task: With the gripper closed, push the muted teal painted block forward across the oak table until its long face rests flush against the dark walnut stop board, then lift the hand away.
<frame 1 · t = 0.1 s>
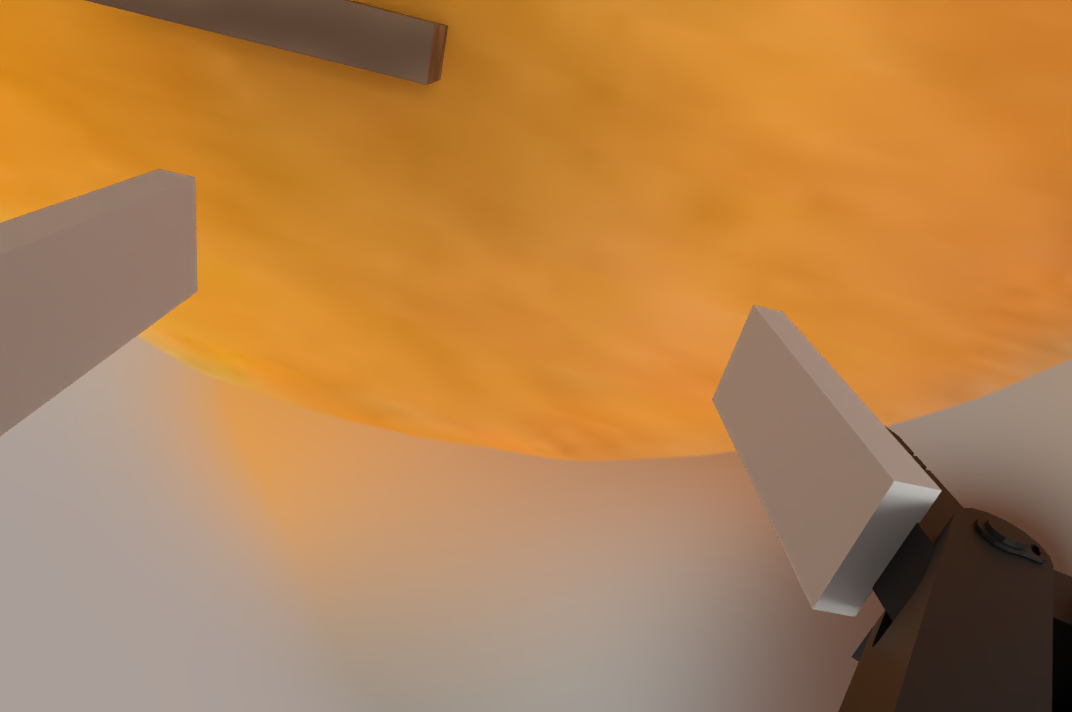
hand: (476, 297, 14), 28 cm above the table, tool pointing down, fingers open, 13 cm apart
board: (293, 15, 36), on the table
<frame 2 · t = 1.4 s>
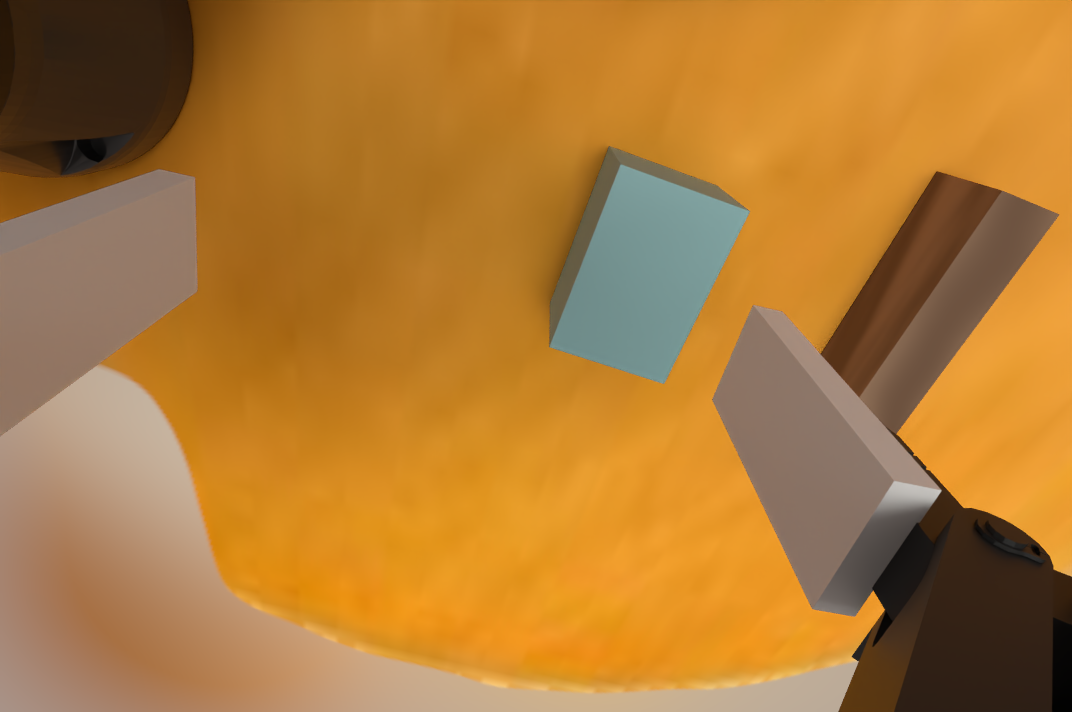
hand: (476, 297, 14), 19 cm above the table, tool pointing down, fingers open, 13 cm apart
board: (862, 332, 35), on the table
block: (629, 246, 33), on the table
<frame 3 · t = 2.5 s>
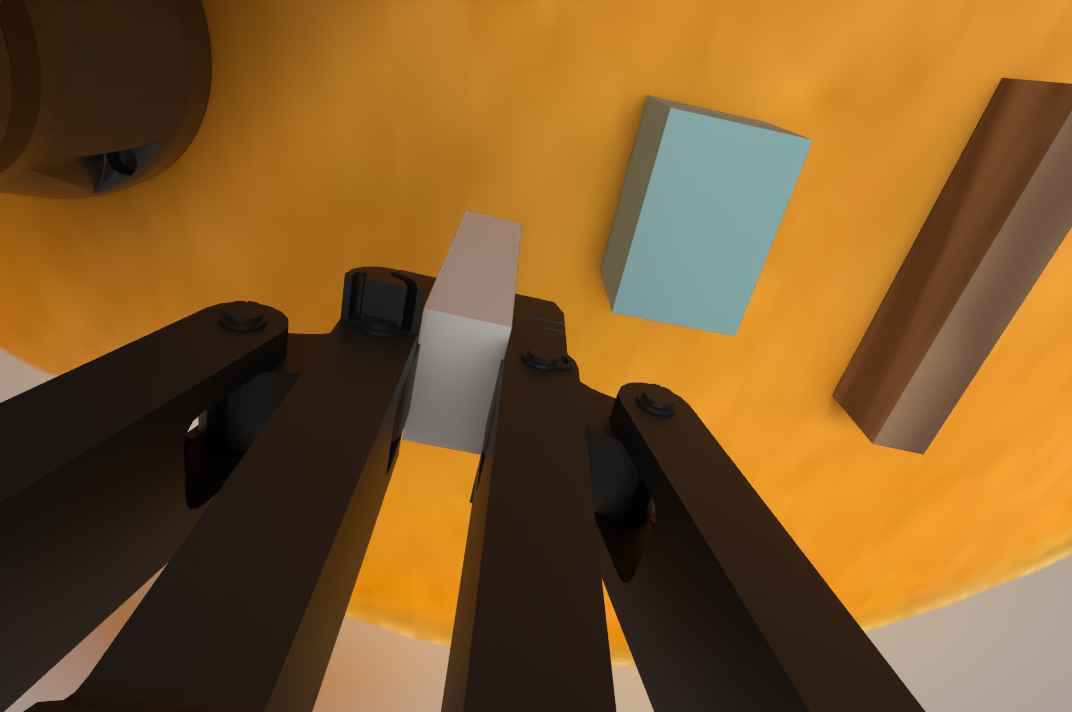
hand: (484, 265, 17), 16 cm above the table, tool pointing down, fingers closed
board: (932, 262, 33), on the table
block: (677, 199, 32), on the table
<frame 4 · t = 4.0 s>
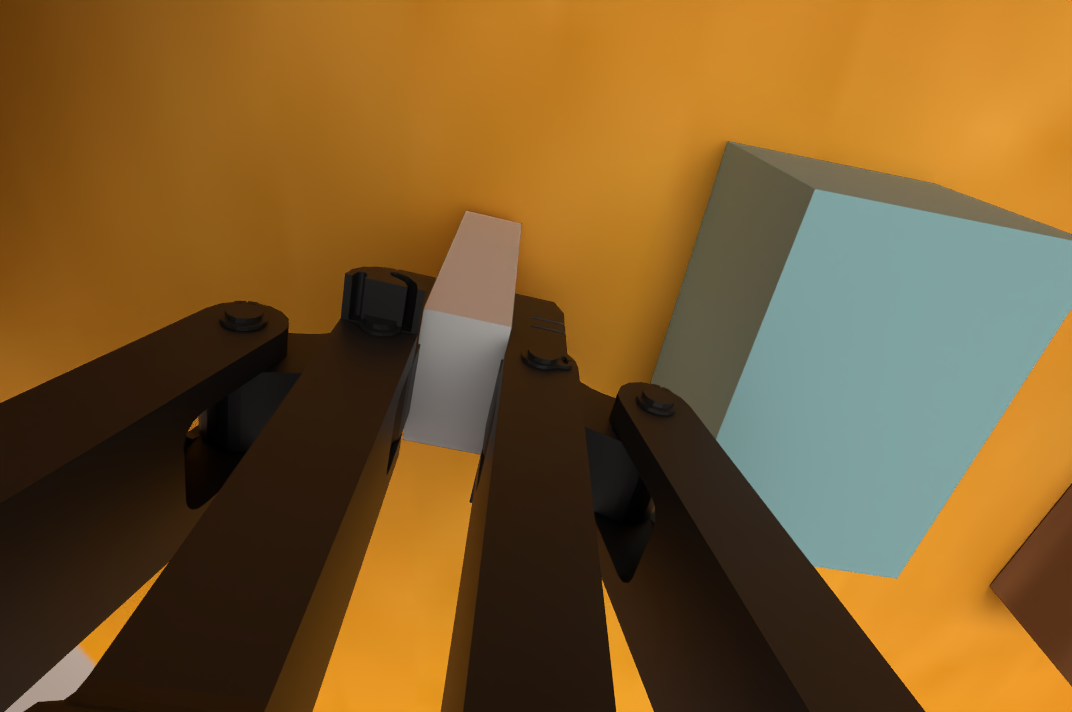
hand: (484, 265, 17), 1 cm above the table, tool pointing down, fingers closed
block: (771, 309, 19), on the table
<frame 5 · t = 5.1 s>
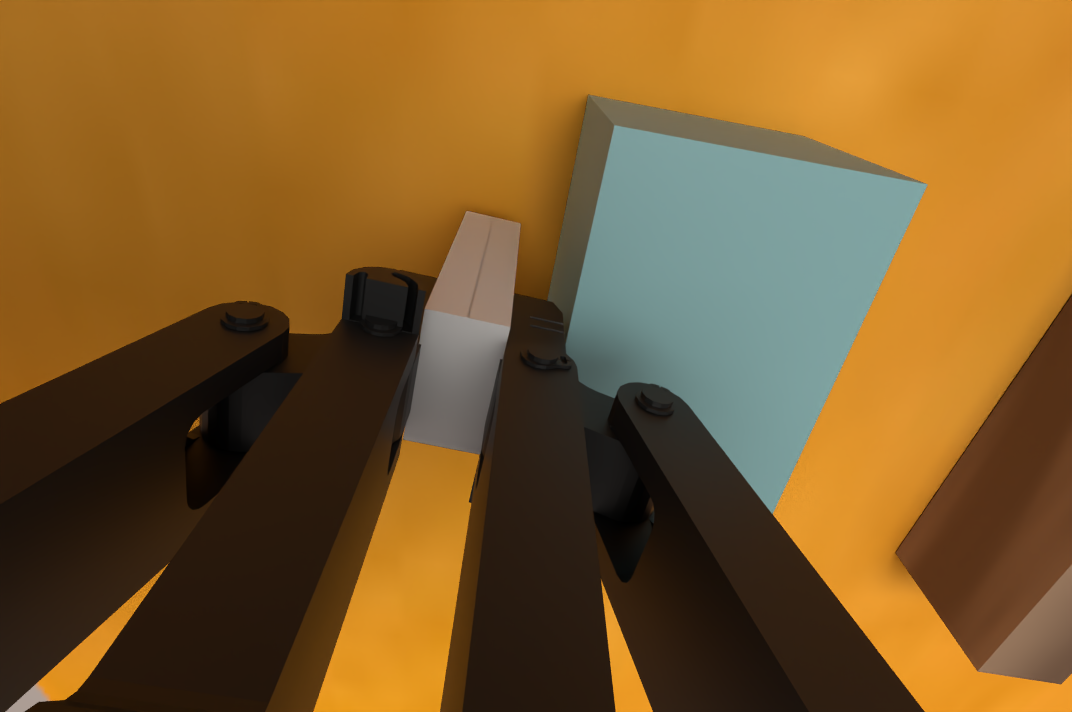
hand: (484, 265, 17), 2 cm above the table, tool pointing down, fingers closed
block: (653, 271, 19), on the table, touching gripper
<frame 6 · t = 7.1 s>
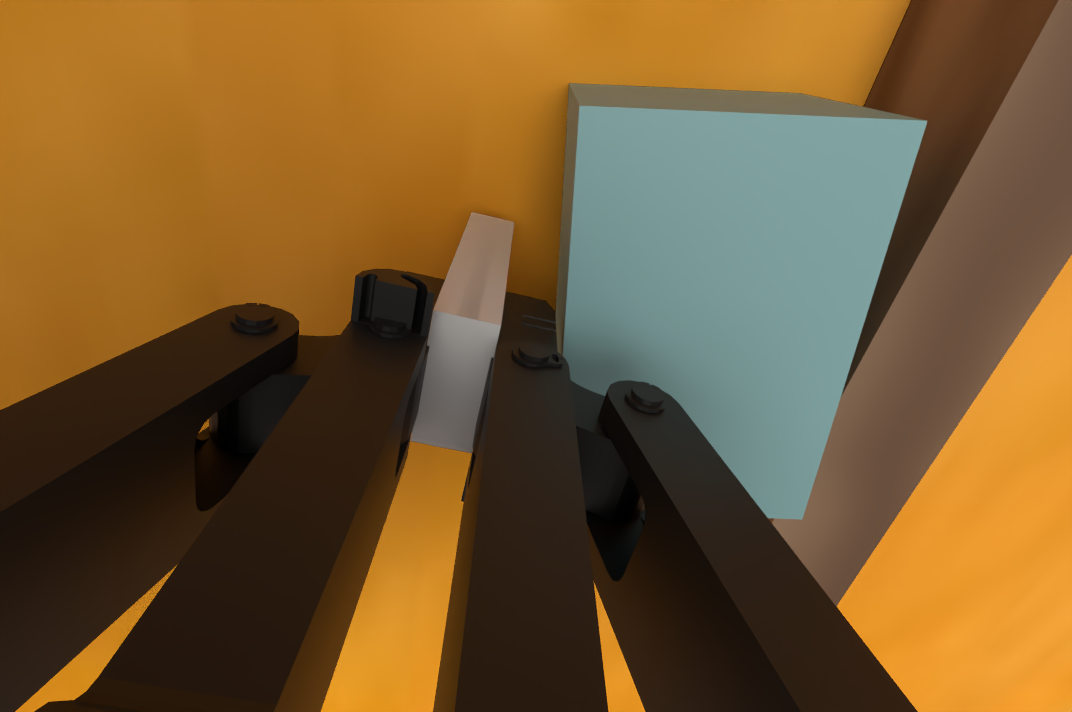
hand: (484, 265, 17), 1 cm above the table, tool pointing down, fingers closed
board: (818, 320, 19), on the table
block: (661, 255, 18), on the table, touching board, gripper
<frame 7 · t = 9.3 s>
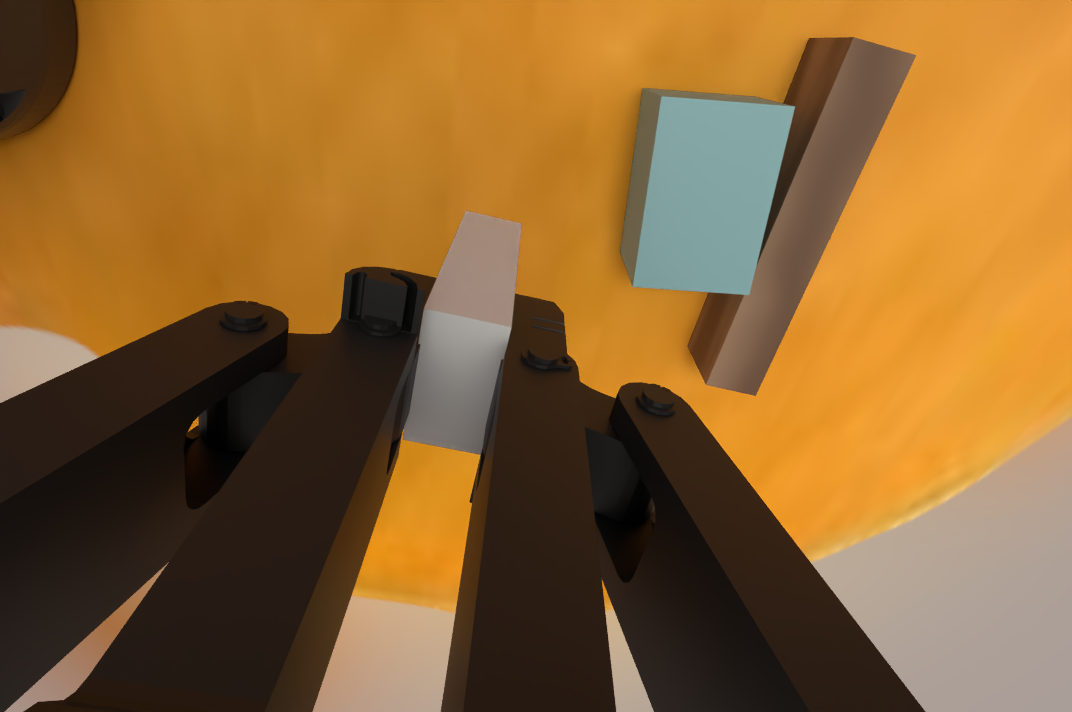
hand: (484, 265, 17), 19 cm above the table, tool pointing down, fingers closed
board: (765, 215, 35), on the table
block: (683, 178, 35), on the table
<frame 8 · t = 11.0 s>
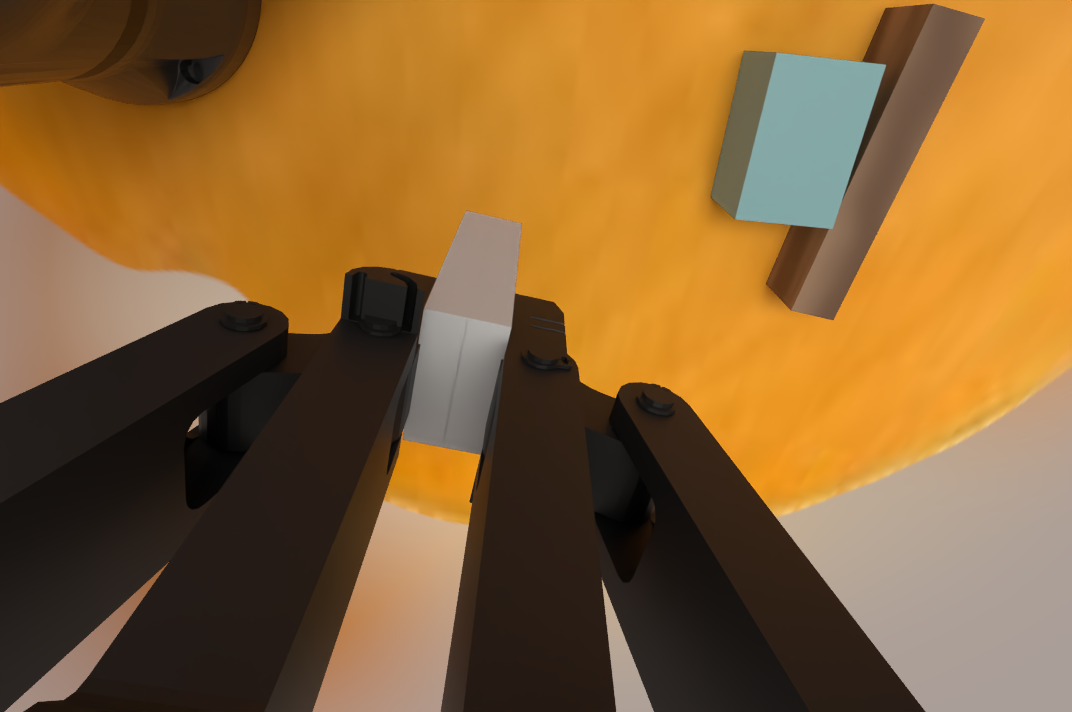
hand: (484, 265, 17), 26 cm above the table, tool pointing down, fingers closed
board: (840, 164, 41), on the table
block: (770, 132, 40), on the table
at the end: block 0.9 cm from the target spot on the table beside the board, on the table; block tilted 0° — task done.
